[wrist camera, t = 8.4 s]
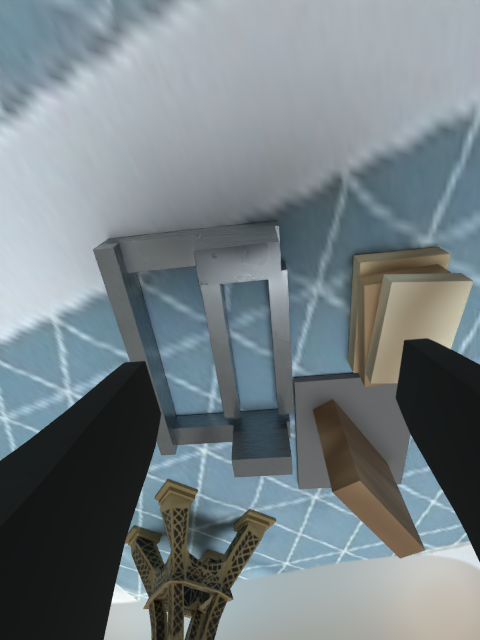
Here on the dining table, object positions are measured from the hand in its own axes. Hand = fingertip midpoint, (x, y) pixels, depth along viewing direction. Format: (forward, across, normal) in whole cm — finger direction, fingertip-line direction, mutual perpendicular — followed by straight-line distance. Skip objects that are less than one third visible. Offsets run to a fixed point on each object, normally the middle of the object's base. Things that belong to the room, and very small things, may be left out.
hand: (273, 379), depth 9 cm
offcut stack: (+10, -7, +4) cm, 13 cm away
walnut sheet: (+9, -5, +13) cm, 17 cm away
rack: (+10, +3, +5) cm, 12 cm away
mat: (+10, -6, +14) cm, 18 cm away
